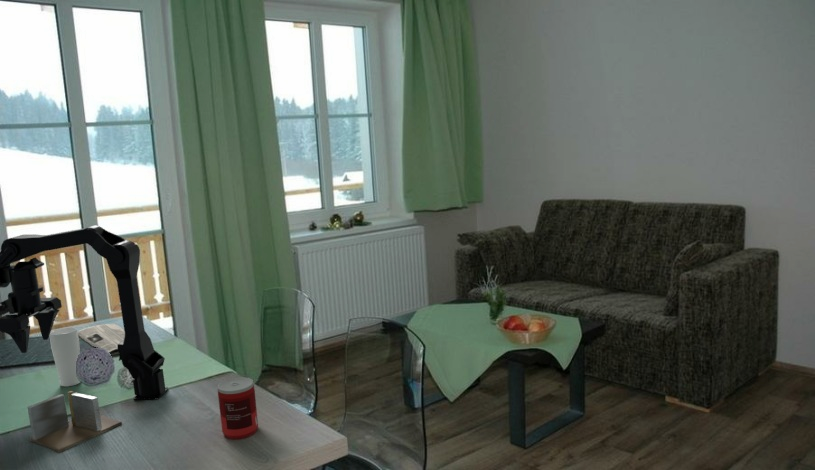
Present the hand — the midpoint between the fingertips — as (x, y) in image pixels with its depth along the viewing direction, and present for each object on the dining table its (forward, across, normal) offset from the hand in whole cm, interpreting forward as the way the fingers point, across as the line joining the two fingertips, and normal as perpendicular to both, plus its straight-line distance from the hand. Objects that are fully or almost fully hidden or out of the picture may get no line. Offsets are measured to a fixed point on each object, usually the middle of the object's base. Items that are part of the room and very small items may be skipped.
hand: (35, 346), depth 162 cm
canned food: (+14, +23, +57) cm, 63 cm away
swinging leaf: (+13, +19, +21) cm, 31 cm away
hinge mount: (+14, +19, +19) cm, 30 cm away
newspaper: (+17, -48, -5) cm, 51 cm away
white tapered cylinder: (+15, -11, +1) cm, 19 cm away
